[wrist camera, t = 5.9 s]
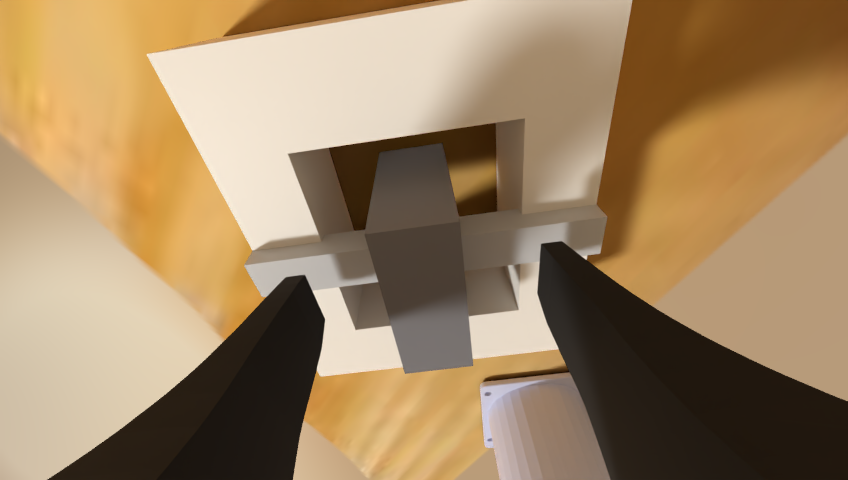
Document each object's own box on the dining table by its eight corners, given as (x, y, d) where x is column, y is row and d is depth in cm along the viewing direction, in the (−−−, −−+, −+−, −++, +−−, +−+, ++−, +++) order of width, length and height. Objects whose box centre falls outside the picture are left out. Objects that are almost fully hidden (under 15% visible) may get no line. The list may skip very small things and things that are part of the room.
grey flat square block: (455, 264, 16) (473, 365, 12) (406, 271, 17) (404, 373, 12) (442, 143, 13) (460, 221, 8) (379, 152, 13) (364, 234, 9)
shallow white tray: (542, 285, 20) (578, 362, 15) (335, 311, 20) (317, 392, 16) (568, -22, 11) (657, -31, 7) (221, 37, 12) (125, 59, 8)
